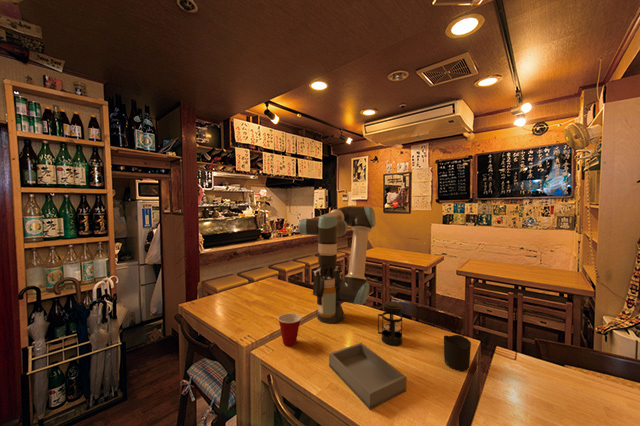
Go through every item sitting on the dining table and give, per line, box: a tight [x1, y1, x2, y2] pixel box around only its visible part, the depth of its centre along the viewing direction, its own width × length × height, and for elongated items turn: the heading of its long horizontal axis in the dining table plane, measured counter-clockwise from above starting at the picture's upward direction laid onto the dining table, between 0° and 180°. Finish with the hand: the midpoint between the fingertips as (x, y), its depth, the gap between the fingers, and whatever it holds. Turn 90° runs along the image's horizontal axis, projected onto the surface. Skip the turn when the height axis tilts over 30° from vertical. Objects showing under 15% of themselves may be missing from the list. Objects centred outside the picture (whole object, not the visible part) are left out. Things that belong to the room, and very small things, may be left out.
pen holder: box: [443, 334, 472, 372], centre depth 99 cm, size 9×9×10 cm
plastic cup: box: [277, 313, 302, 347], centre depth 115 cm, size 11×11×12 cm
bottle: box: [317, 277, 336, 318], centre depth 103 cm, size 7×7×15 cm
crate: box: [328, 342, 407, 410], centre depth 92 cm, size 16×24×5 cm, turn 29°
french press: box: [377, 290, 404, 347], centre depth 117 cm, size 12×9×23 cm
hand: (326, 309), depth 103 cm, fingers closed on bottle, 6 cm apart
